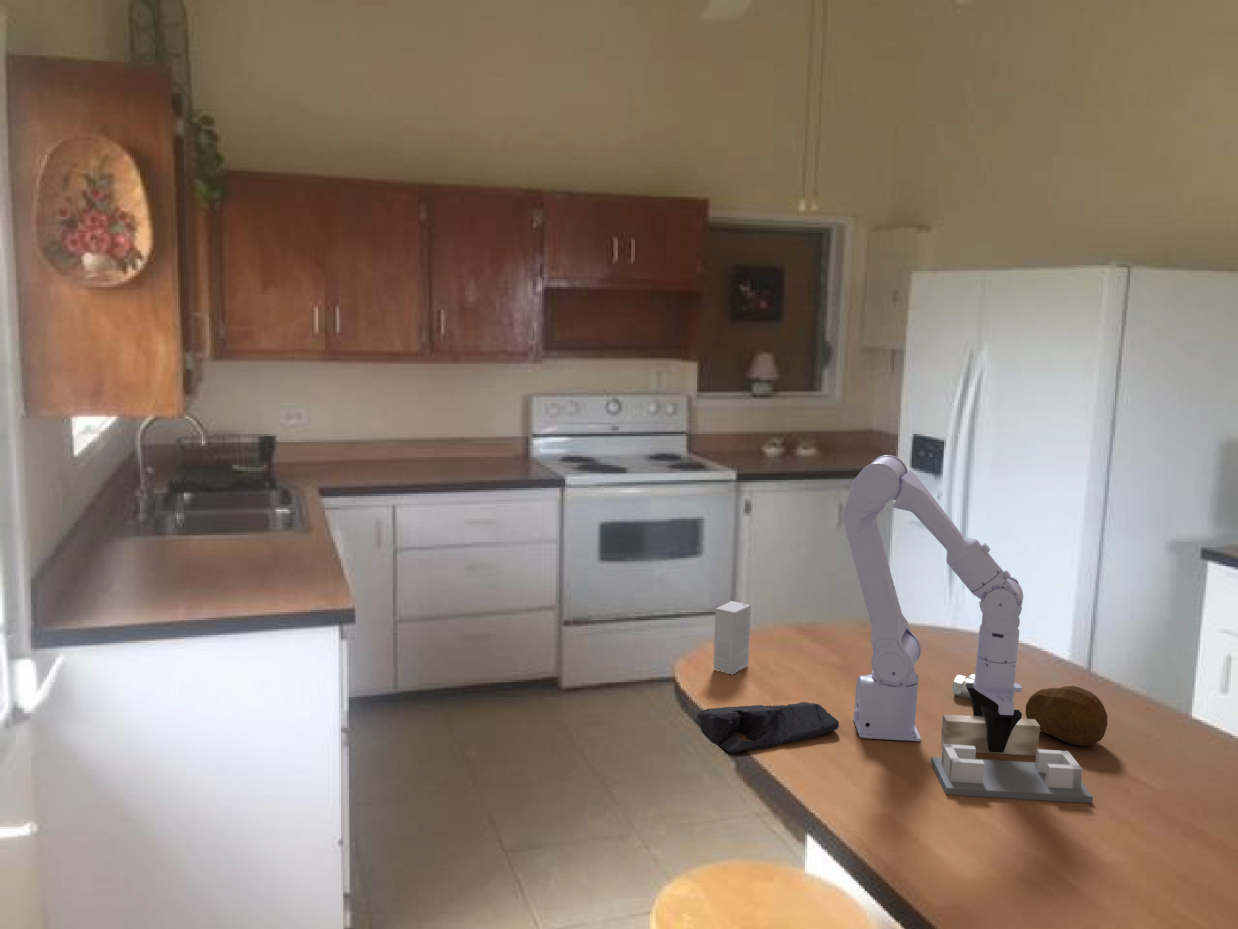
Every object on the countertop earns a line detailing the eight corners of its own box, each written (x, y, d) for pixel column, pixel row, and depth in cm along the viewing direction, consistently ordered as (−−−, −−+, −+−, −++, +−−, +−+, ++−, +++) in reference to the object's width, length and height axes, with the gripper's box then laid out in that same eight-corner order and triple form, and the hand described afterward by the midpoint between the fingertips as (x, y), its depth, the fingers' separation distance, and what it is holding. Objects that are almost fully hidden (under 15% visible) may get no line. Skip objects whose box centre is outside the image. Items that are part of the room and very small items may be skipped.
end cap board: (946, 794, 149) (948, 768, 148) (930, 762, 159) (932, 737, 158) (1092, 803, 147) (1095, 776, 147) (1067, 770, 157) (1070, 745, 156)
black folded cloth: (851, 743, 166) (853, 715, 165) (721, 758, 159) (723, 729, 158) (806, 706, 180) (808, 679, 179) (685, 718, 173) (686, 690, 173)
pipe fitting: (965, 689, 189) (951, 697, 184) (968, 668, 189) (953, 676, 184) (1010, 702, 184) (997, 710, 179) (1013, 680, 184) (999, 688, 179)
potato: (1051, 719, 176) (1056, 669, 174) (1118, 746, 166) (1124, 694, 164) (1019, 730, 171) (1024, 679, 170) (1085, 758, 161) (1091, 704, 160)
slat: (944, 751, 163) (946, 721, 162) (940, 744, 165) (942, 714, 165) (1036, 756, 162) (1040, 726, 161) (1031, 749, 164) (1034, 719, 164)
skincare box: (728, 661, 199) (731, 600, 197) (748, 666, 196) (751, 604, 194) (712, 670, 194) (714, 607, 192) (732, 676, 191) (735, 612, 189)
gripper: (1038, 675, 154) (1029, 763, 156) (1009, 642, 168) (1002, 722, 170) (989, 673, 154) (981, 760, 157) (964, 640, 168) (957, 720, 171)
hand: (989, 740), depth 163 cm, fingers open, 7 cm apart
